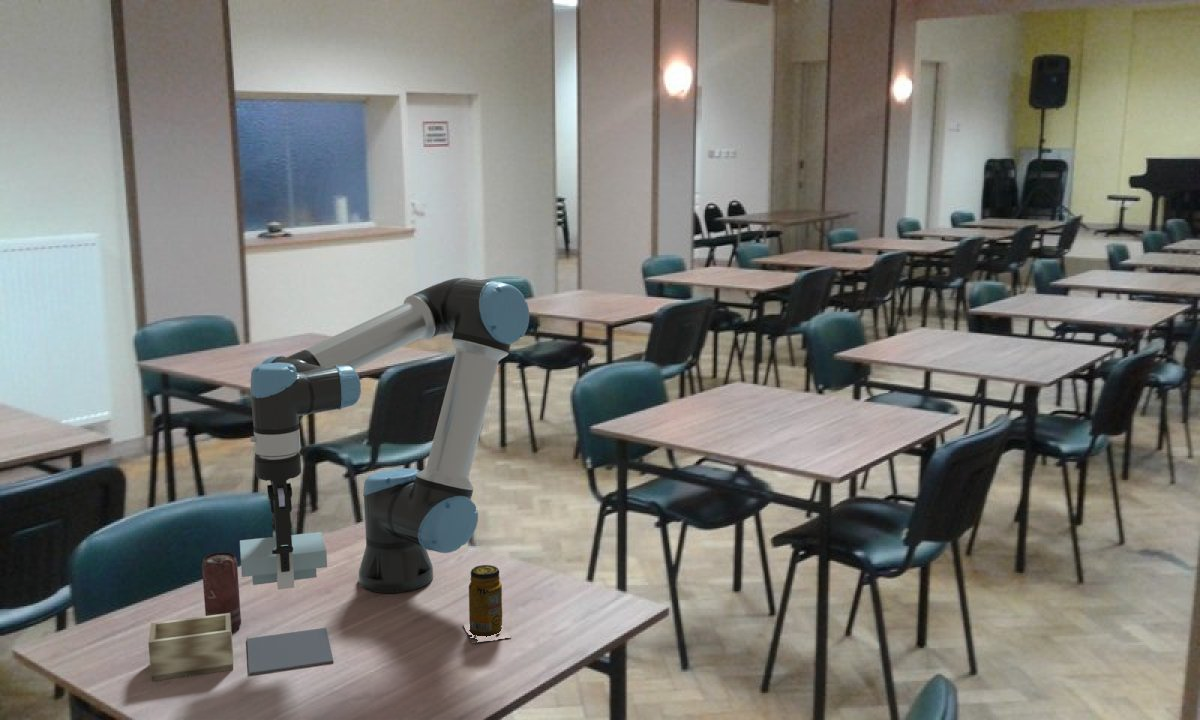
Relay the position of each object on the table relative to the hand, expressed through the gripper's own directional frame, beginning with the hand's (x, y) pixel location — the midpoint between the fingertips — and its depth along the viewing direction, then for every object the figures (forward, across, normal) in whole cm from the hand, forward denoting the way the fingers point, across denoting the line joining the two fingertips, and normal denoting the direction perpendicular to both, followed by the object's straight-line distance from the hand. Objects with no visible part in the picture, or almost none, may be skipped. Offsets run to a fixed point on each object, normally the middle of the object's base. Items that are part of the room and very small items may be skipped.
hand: (284, 576), depth 190 cm
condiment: (+14, +4, +35) cm, 38 cm away
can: (+14, -14, -11) cm, 23 cm away
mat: (+14, 0, 0) cm, 14 cm away
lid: (-3, 0, 0) cm, 3 cm away
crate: (+14, 0, -16) cm, 21 cm away
